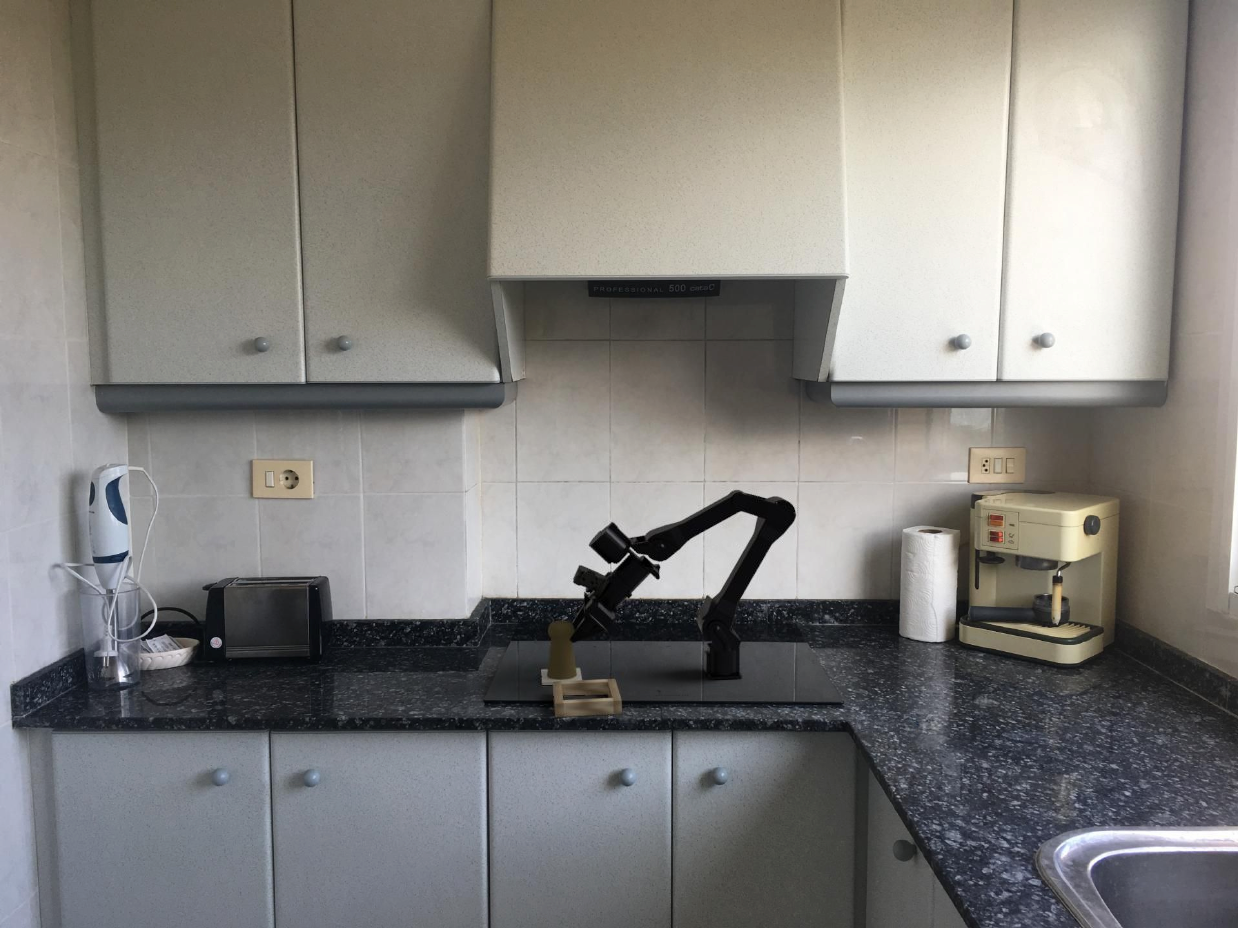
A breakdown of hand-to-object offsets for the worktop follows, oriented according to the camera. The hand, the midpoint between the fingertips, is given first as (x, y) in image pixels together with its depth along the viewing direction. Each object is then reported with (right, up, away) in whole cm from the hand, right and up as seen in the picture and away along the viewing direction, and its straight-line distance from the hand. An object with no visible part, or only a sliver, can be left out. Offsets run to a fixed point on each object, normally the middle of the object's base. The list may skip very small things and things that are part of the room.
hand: (571, 634), depth 182 cm
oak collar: (+3, -10, -14) cm, 18 cm away
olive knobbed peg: (-2, -8, +1) cm, 9 cm away
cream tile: (-2, -9, +1) cm, 9 cm away
